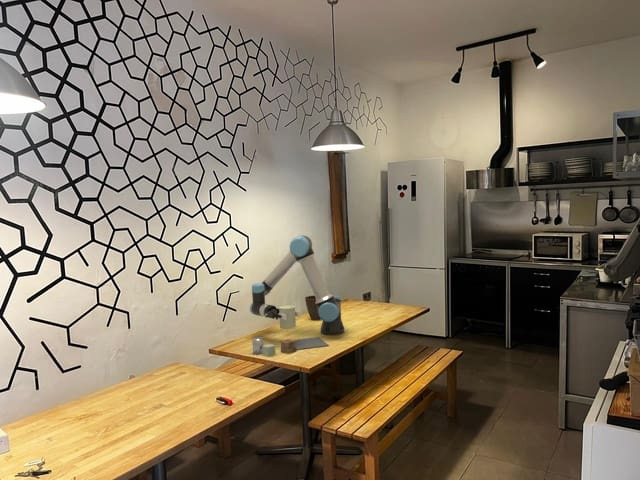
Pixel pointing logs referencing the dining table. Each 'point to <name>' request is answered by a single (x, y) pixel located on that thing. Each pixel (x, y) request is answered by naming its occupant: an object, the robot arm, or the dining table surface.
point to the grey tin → (257, 345)
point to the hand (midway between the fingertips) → (292, 315)
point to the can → (290, 315)
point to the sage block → (268, 350)
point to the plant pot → (312, 307)
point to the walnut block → (288, 346)
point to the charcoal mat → (310, 343)
